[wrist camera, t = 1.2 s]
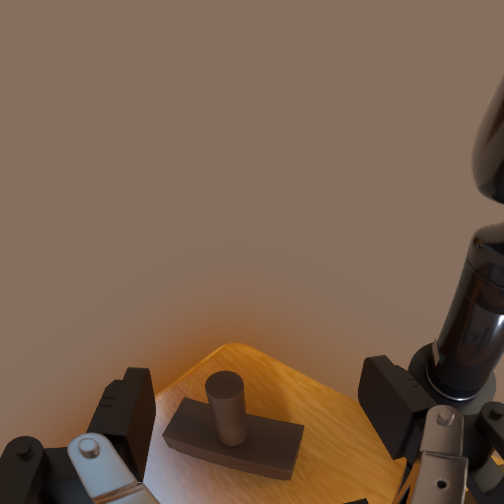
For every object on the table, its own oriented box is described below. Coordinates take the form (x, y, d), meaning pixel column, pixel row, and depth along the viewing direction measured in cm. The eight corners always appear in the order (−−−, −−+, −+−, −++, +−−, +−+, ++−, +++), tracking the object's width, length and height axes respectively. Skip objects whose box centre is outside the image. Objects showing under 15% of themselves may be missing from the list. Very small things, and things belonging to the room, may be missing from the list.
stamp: (190, 415, 31) (168, 344, 26) (301, 441, 28) (312, 375, 23) (170, 451, 27) (138, 387, 22) (289, 484, 24) (298, 430, 18)
